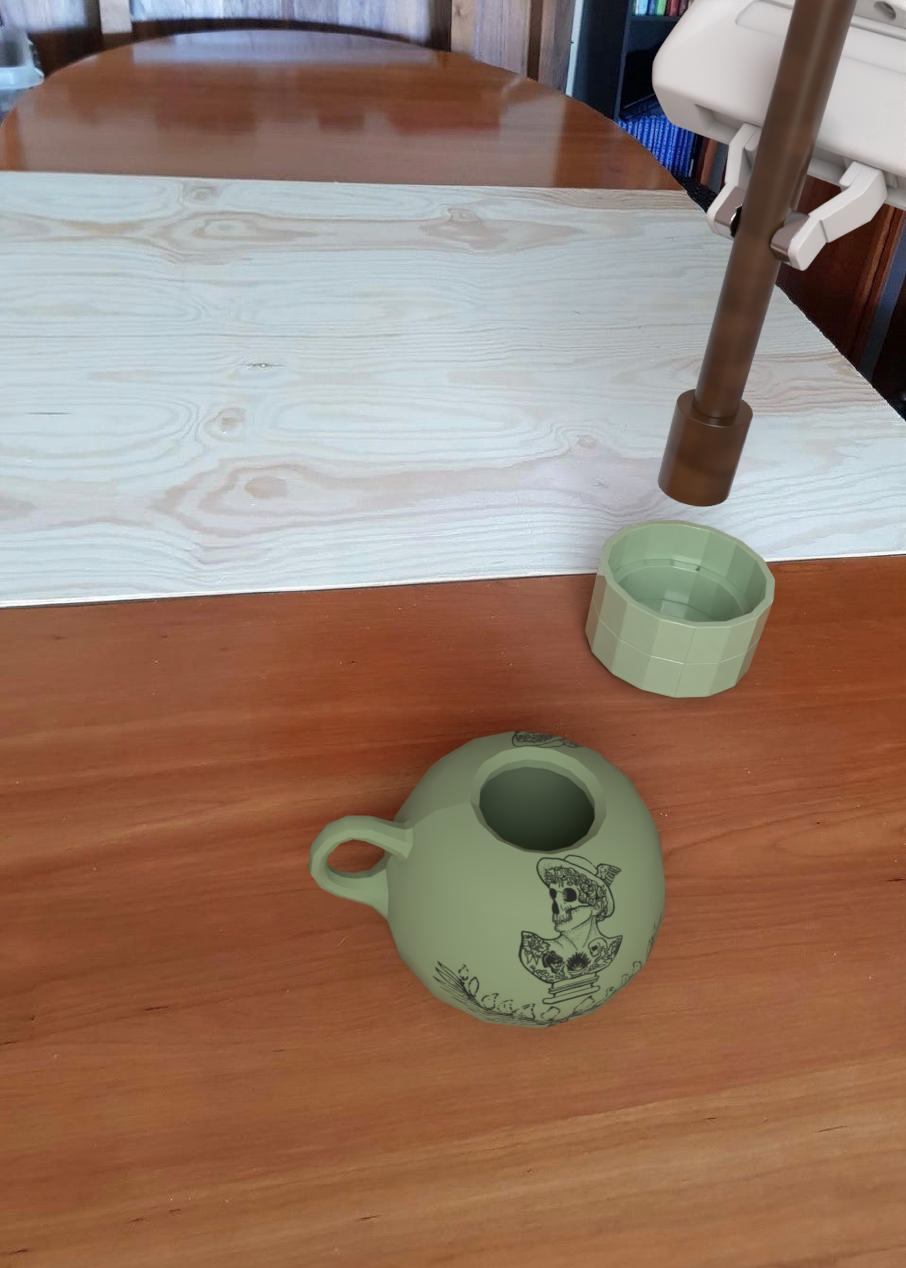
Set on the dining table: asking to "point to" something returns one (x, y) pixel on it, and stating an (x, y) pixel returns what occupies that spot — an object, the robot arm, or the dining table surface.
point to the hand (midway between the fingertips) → (751, 244)
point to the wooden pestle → (754, 260)
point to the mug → (513, 878)
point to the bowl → (678, 607)
